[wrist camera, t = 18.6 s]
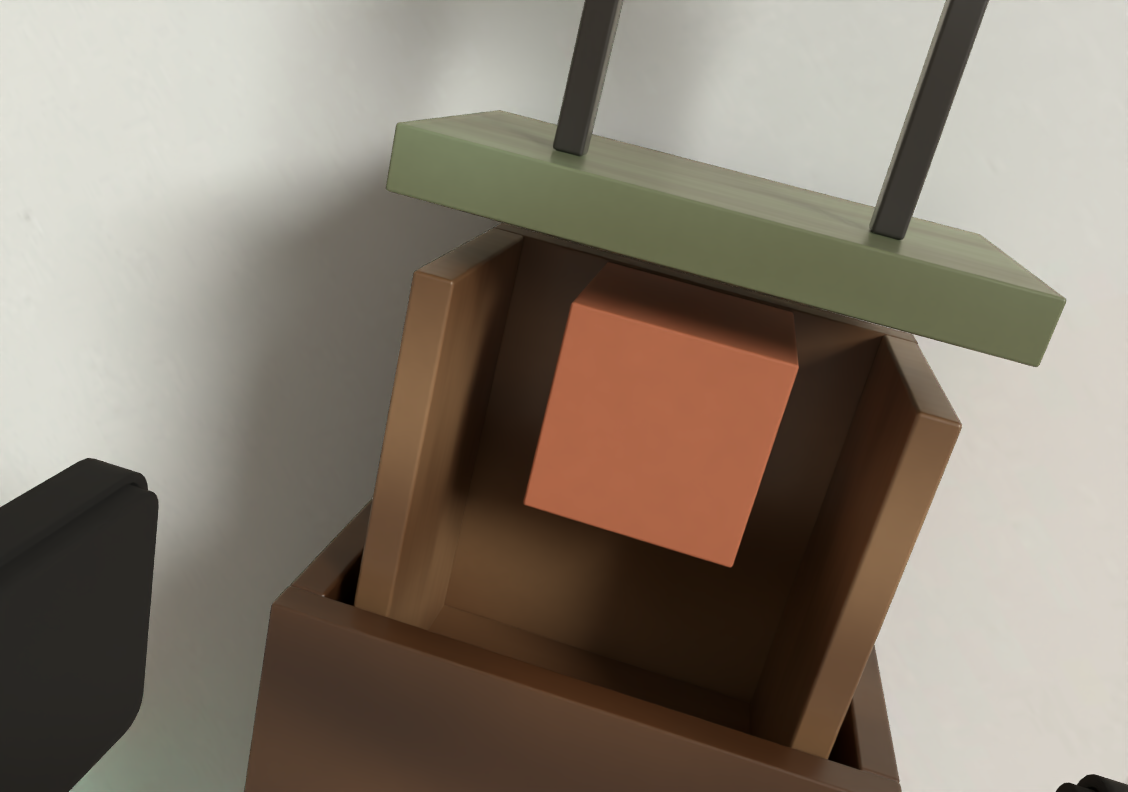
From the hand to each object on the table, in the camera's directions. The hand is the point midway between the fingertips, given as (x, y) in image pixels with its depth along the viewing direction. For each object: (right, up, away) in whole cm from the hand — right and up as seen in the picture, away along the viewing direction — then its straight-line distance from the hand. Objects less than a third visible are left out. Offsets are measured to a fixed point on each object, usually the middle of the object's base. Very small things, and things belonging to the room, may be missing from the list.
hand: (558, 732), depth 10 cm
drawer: (+3, +6, +14) cm, 15 cm away
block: (+3, +4, +13) cm, 14 cm away
